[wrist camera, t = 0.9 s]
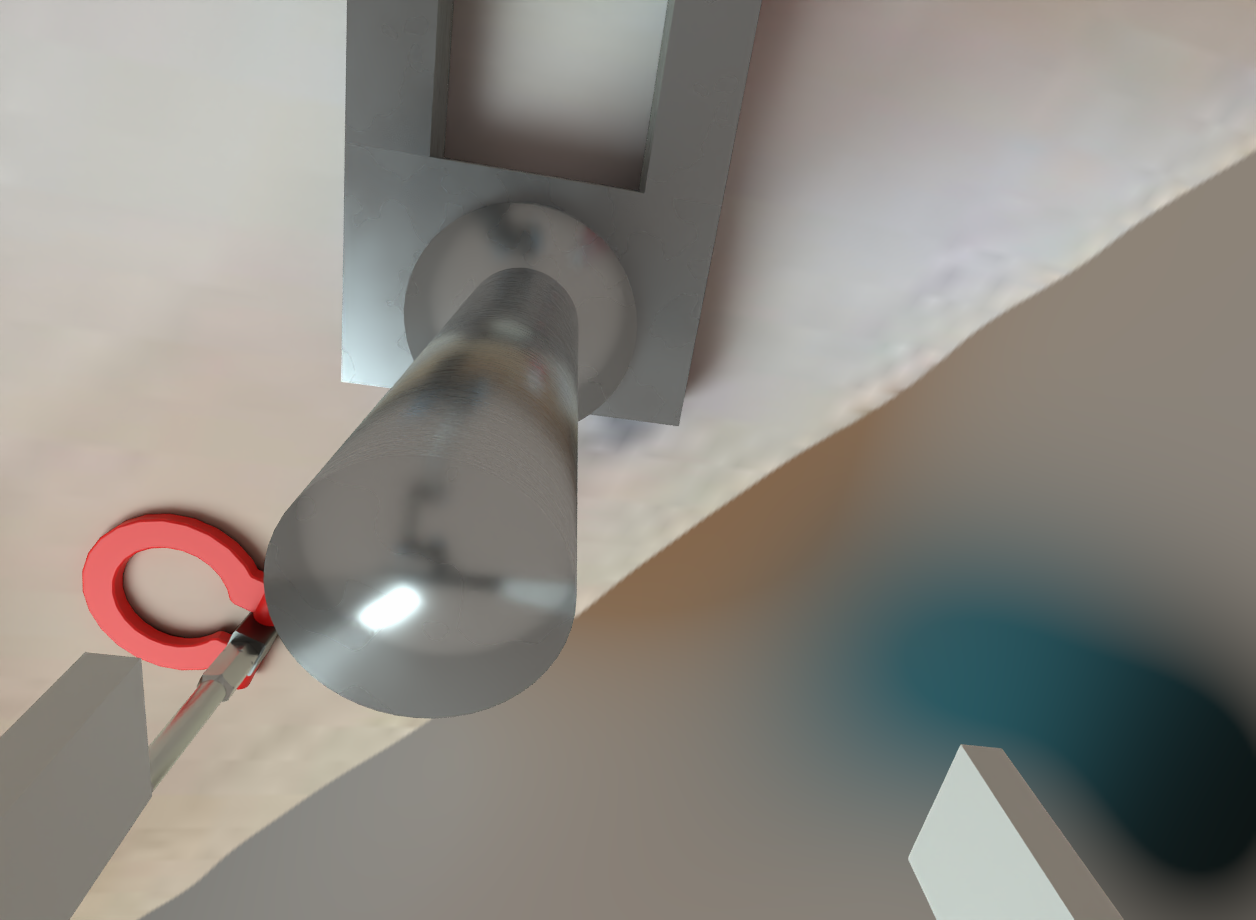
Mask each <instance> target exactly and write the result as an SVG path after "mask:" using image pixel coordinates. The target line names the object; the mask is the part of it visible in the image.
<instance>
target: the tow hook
mask: <svg viewBox="0 0 1256 920" xmlns="http://www.w3.org/2000/svg"><path fill="white" fill-rule="evenodd" d="M150 548H171V549H176V550H181V551H184V552H187V553H189V554H191V555H194V556H196V557H198V558H199V559H201V560H202V561H204V562H205V563H207V564H208V565H209V566H211V567H212V569H213V570H214V571H215V572H216V573H217V574H218V575H219V576H220V577H221V579H222V581H223V582H224V584H225V586H226V588H227V590H228V594H229V598H230V600H231V601H232V602H233V603H234V604H235V605H238V606H240V607H242V608H244V609H246V610H249V611H251V612H250V614H249V615H248V616H247V617H246V618H245V619H244V621H243V622H242V623H241V624H240V625H239V626H238V628H237V629H236V630H235V631H234V632H233V634H232V635H231V634H229V633H227V632H224V631H217V632H216V633H214V634H212V635H208V636H205V637H201V638H181V637H176V636H171V635H168V634H166V633H163V632H161V631H158V630H156V629H155V628H153V627H152V626H150V625H149V624H147V623H145V622H144V621H143V620H142V619H141V618H140V617H139V616H138V615H137V614H136V613H135V612H134V611H133V609H132V607H131V606H130V604H129V603H128V601H127V599H126V596H125V593H124V589H123V572H124V569H125V566H126V564H127V562H128V561H129V559H130V558H131V557H132V556H133V555H134V554H136V553H137V552H140V551H143V550H147V549H150ZM82 576H83V593H84V596H85V599H86V602H87V605H88V608H89V611H90V612H91V614H92V615H93V617H94V619H95V620H96V622H97V623H98V625H99V626H100V628H101V629H102V630H103V631H104V632H105V633H106V634H107V635H108V636H109V637H110V638H111V639H112V640H113V641H114V642H115V643H116V644H117V645H118V646H120V647H122V648H123V649H125V650H126V651H128V652H129V653H131V654H133V655H134V656H136V657H137V658H141V659H142V660H145V661H147V662H150V663H153V664H155V665H158V666H161V667H167V668H172V669H178V670H204V669H207V670H206V671H205V672H204V674H203V675H202V677H201V678H200V680H199V683H198V685H197V689H196V690H195V691H194V693H193V694H192V695H191V696H190V697H189V699H188V700H187V701H186V702H185V703H184V705H183V706H182V707H181V708H180V709H179V711H178V712H177V713H176V714H175V715H174V717H173V718H172V719H171V720H170V721H169V723H168V724H167V725H166V726H165V727H164V729H163V730H162V731H161V732H160V733H159V735H158V736H157V737H156V738H155V739H154V741H153V742H152V743H151V744H150V745H149V747H148V751H149V764H150V777H151V789H152V792H153V791H154V790H155V788H156V787H157V786H158V784H159V783H160V782H161V781H162V779H163V778H164V777H165V775H166V774H167V773H168V771H169V770H170V769H171V767H172V766H173V765H174V763H175V762H176V761H177V760H178V758H179V757H180V756H181V754H182V753H183V752H184V750H185V749H186V748H187V746H188V745H189V744H190V743H191V741H192V740H193V739H194V737H195V736H196V735H197V733H198V732H199V731H200V729H201V728H202V727H203V725H204V724H205V723H206V722H207V720H208V719H209V718H210V716H211V715H212V714H213V712H214V711H215V710H216V708H217V707H218V706H219V705H220V703H221V702H225V701H227V700H229V698H230V697H231V696H232V694H233V693H234V692H235V690H236V689H243V688H246V687H247V686H248V685H249V684H250V682H251V680H252V678H253V676H254V674H255V672H256V671H257V669H258V667H259V665H260V663H261V661H262V660H263V658H264V657H265V656H266V654H267V653H268V651H269V650H270V648H271V646H272V644H273V642H274V640H275V638H276V636H277V634H278V633H277V631H276V629H275V627H274V624H273V622H272V620H271V617H270V614H269V611H268V607H267V603H266V599H265V591H264V582H263V579H264V572H263V571H261V570H258V569H257V567H256V565H255V563H254V561H253V559H252V558H251V557H250V556H249V555H248V554H247V553H246V552H245V551H244V549H243V548H242V547H241V546H240V545H239V544H238V543H237V542H236V541H234V540H233V539H232V538H230V537H229V536H227V535H226V534H225V533H223V532H222V531H220V530H219V529H218V528H215V527H213V526H211V525H208V524H206V523H204V522H202V521H199V520H197V519H195V518H190V517H185V516H180V515H174V514H147V515H143V516H140V517H137V518H133V519H130V520H127V521H125V522H123V523H121V524H120V525H118V526H117V527H115V528H114V529H112V530H111V531H109V532H108V533H106V534H105V535H103V536H102V537H100V539H99V540H98V541H97V542H96V544H95V545H94V546H93V548H92V549H91V550H90V551H89V553H88V555H87V559H86V562H85V565H84V568H83V571H82Z"/></svg>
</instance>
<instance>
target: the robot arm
mask: <svg viewBox="0 0 1256 920" xmlns="http://www.w3.org/2000/svg"><path fill="white" fill-rule="evenodd" d="M151 797H152V789H151V777H150V764H149V751H148V739H147V726H146V714H145V701H144V689H143V676H142V663H141V658H135V657H125V656H116V655H106V654H97V653H87V652H85V653H84V654H83V655H82V656H81V657H80V658H79V659H78V660H77V661H76V662H75V663H74V664H73V665H72V666H71V667H70V668H69V669H68V670H67V671H66V672H65V673H64V674H63V675H62V676H61V677H60V678H59V679H58V680H57V681H56V682H55V683H54V684H53V685H52V686H51V687H50V688H49V689H48V690H47V691H46V692H45V693H44V694H43V695H42V696H41V697H40V698H39V699H38V700H37V701H36V702H35V703H34V704H33V705H32V706H31V707H30V708H29V709H28V710H27V711H26V712H25V713H24V714H23V715H22V716H21V717H20V718H19V719H18V720H17V721H16V722H15V723H14V724H13V725H12V726H11V727H10V728H9V729H8V730H7V731H6V732H5V733H4V734H3V735H2V736H1V737H0V920H70V918H71V917H72V915H73V914H74V912H75V911H76V909H77V908H78V906H79V905H80V903H81V902H82V900H83V899H84V897H85V896H86V894H87V893H88V891H89V890H90V888H91V887H92V885H93V884H94V882H95V881H96V879H97V878H98V876H99V875H100V873H101V872H102V870H103V869H104V867H105V866H106V864H107V863H108V861H109V860H110V858H111V857H112V855H113V854H114V852H115V851H116V849H117V848H118V846H119V845H120V843H121V842H122V840H123V839H124V837H125V836H126V834H127V833H128V831H129V830H130V828H131V827H132V825H133V824H134V822H135V821H136V819H137V818H138V816H139V815H140V813H141V812H142V810H143V809H144V807H145V806H146V804H147V803H148V801H149V800H150V798H151ZM908 860H909V862H910V864H911V866H912V868H913V870H914V873H915V875H916V877H917V879H918V881H919V883H920V885H921V887H922V890H923V892H924V894H925V896H926V898H927V900H928V902H929V904H930V907H931V909H932V911H933V913H934V915H935V917H936V920H1124V919H1123V918H1122V917H1121V915H1120V914H1119V912H1118V911H1117V910H1116V908H1115V907H1114V905H1113V904H1112V903H1111V901H1110V900H1109V898H1108V897H1107V896H1106V894H1105V893H1104V892H1103V890H1102V889H1101V887H1100V886H1099V885H1098V883H1097V881H1096V880H1095V879H1094V877H1093V876H1092V874H1091V873H1090V872H1089V870H1088V869H1087V867H1086V866H1085V865H1084V863H1083V862H1082V860H1081V859H1080V858H1079V857H1078V855H1077V853H1076V852H1075V851H1074V849H1073V848H1072V846H1071V845H1070V844H1069V842H1068V841H1067V839H1066V838H1065V837H1064V835H1063V834H1062V833H1061V831H1060V830H1059V828H1058V827H1057V825H1056V824H1055V823H1054V821H1053V820H1052V818H1051V817H1050V816H1049V814H1048V813H1047V811H1046V810H1045V809H1044V807H1043V806H1042V804H1041V803H1040V802H1039V800H1038V799H1037V797H1036V796H1035V794H1034V793H1033V792H1032V790H1031V789H1030V787H1029V786H1028V785H1027V783H1026V782H1025V781H1024V779H1023V778H1022V776H1021V775H1020V774H1019V772H1018V771H1017V769H1016V768H1015V766H1014V765H1013V764H1012V762H1011V761H1010V759H1009V758H1008V757H1007V755H1006V754H1005V753H1004V751H1003V750H1002V749H1000V748H990V747H981V746H971V745H961V746H960V747H959V750H958V752H957V754H956V756H955V758H954V760H953V762H952V765H951V767H950V769H949V771H948V774H947V775H946V778H945V780H944V782H943V784H942V786H941V788H940V790H939V793H938V795H937V797H936V799H935V801H934V803H933V806H932V808H931V810H930V812H929V814H928V816H927V818H926V821H925V823H924V825H923V827H922V829H921V831H920V834H919V836H918V838H917V840H916V842H915V844H914V846H913V849H912V851H911V853H910V855H909V857H908Z"/></svg>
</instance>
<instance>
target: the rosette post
mask: <svg viewBox="0 0 1256 920" xmlns="http://www.w3.org/2000/svg"><path fill="white" fill-rule="evenodd" d="M453 1H454V0H347V43H346V110H345V176H344V243H343V309H342V376H341V382H348V383H356V384H363V385H371V386H379V387H386V388H391V389H390V390H389V391H388V392H387V393H386V394H385V396H384V397H383V398H382V399H381V400H380V401H379V403H378V404H377V405H376V406H375V407H374V409H373V410H372V411H371V412H370V413H369V414H368V416H367V417H366V418H365V419H364V420H363V421H362V423H361V424H360V425H359V426H358V427H357V428H356V430H355V431H354V432H353V433H352V434H351V435H350V437H349V438H348V439H347V440H346V441H345V443H344V444H343V445H342V446H341V447H340V448H339V450H338V451H337V452H336V453H335V454H334V455H333V457H332V458H331V459H330V460H329V461H328V462H327V464H326V465H325V466H324V467H323V468H322V469H321V471H320V472H319V473H318V474H317V475H316V477H315V478H314V479H313V480H312V481H311V482H310V484H309V485H308V486H307V487H306V488H305V489H304V491H303V492H302V493H301V494H300V495H299V496H298V498H297V499H296V500H295V501H294V502H293V504H292V505H291V506H290V507H289V508H288V510H287V511H286V512H285V513H284V515H283V516H282V518H281V520H280V521H279V523H278V525H277V526H276V528H275V530H274V532H273V535H272V537H271V540H270V543H269V545H268V549H267V553H266V558H265V563H264V579H263V582H264V591H265V599H266V603H267V607H268V611H269V614H270V617H271V620H272V622H273V624H274V627H275V629H276V631H277V633H278V635H279V637H280V638H281V640H282V641H283V643H284V645H285V646H286V648H287V649H288V651H289V652H290V653H291V654H292V656H293V657H294V658H295V659H296V661H297V662H298V663H299V664H300V665H301V666H302V667H303V668H304V669H305V670H306V671H307V672H308V673H309V674H310V675H312V676H313V677H314V678H315V679H317V680H318V681H319V682H321V683H322V684H323V685H325V686H326V687H327V688H329V689H331V690H332V691H334V692H336V693H337V694H339V695H341V696H342V697H344V698H346V699H349V700H351V701H353V702H355V703H357V704H359V705H362V706H365V707H368V708H371V709H374V710H376V711H380V712H384V713H388V714H393V715H397V716H405V717H413V718H447V717H456V716H461V715H467V714H472V713H475V712H479V711H482V710H486V709H489V708H491V707H494V706H496V705H499V704H501V703H503V702H506V701H507V700H509V699H511V698H513V697H514V696H516V695H518V694H519V693H521V692H522V691H524V690H525V689H527V688H528V687H529V686H530V685H532V684H533V683H535V682H536V681H537V680H538V679H539V678H540V677H541V676H542V675H543V674H544V673H545V672H546V671H547V670H548V668H549V667H550V666H551V665H552V663H553V662H554V661H555V660H556V658H557V657H558V655H559V654H560V652H561V650H562V648H563V647H564V645H565V643H566V641H567V638H568V636H569V633H570V631H571V628H572V623H573V619H574V615H575V608H576V595H577V462H578V421H580V420H582V419H583V418H585V417H586V416H588V415H590V414H591V415H598V416H606V417H613V418H621V419H628V420H636V421H644V422H651V423H659V424H666V425H674V426H679V421H680V416H681V411H682V406H683V401H684V396H685V391H686V386H687V380H688V375H689V370H690V365H691V360H692V355H693V350H694V345H695V340H696V334H697V329H698V324H699V319H700V314H701V309H702V304H703V299H704V294H705V289H706V283H707V278H708V273H709V268H710V263H711V258H712V253H713V248H714V243H715V237H716V232H717V227H718V222H719V217H720V212H721V207H722V202H723V197H724V191H725V186H726V181H727V176H728V171H729V166H730V161H731V156H732V151H733V146H734V140H735V135H736V130H737V125H738V120H739V115H740V110H741V105H742V100H743V94H744V89H745V84H746V79H747V74H748V69H749V64H750V59H751V54H752V48H753V43H754V38H755V33H756V28H757V23H758V18H759V13H760V8H761V3H762V0H668V5H667V11H666V18H665V24H664V31H663V37H662V44H661V50H660V56H659V63H658V69H657V76H656V82H655V89H654V95H653V102H652V108H651V115H650V121H649V127H648V134H647V140H646V147H645V153H644V160H643V166H642V173H641V179H640V186H639V191H636V190H630V189H624V188H618V187H613V186H607V185H601V184H595V183H589V182H583V181H577V180H571V179H565V178H559V177H554V176H548V175H542V174H536V173H530V172H524V171H518V170H512V169H506V168H500V167H495V166H489V165H483V164H477V163H471V162H465V161H459V160H453V159H447V158H444V147H445V131H446V115H447V98H448V82H449V66H450V50H451V33H452V17H453Z"/></svg>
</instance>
